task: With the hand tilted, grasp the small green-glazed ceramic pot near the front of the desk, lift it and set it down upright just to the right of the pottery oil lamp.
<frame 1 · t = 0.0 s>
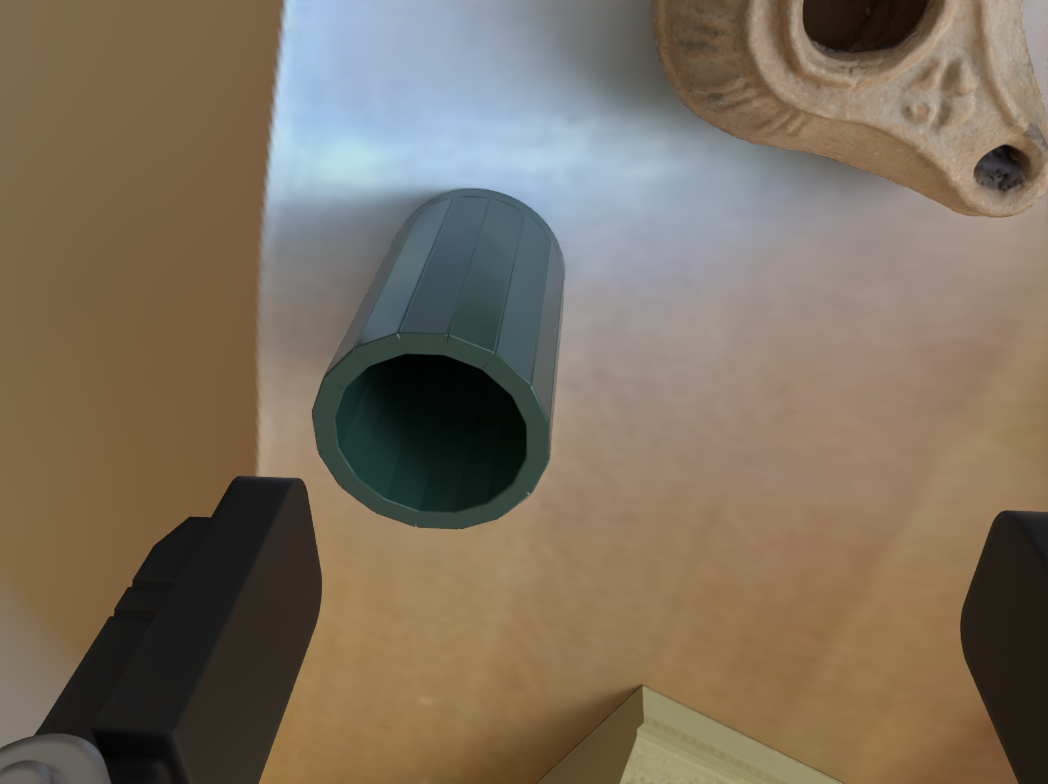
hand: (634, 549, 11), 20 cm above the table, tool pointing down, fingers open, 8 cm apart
pottery oil lamp: (844, 27, 26), on the table
pot: (478, 272, 31), on the table
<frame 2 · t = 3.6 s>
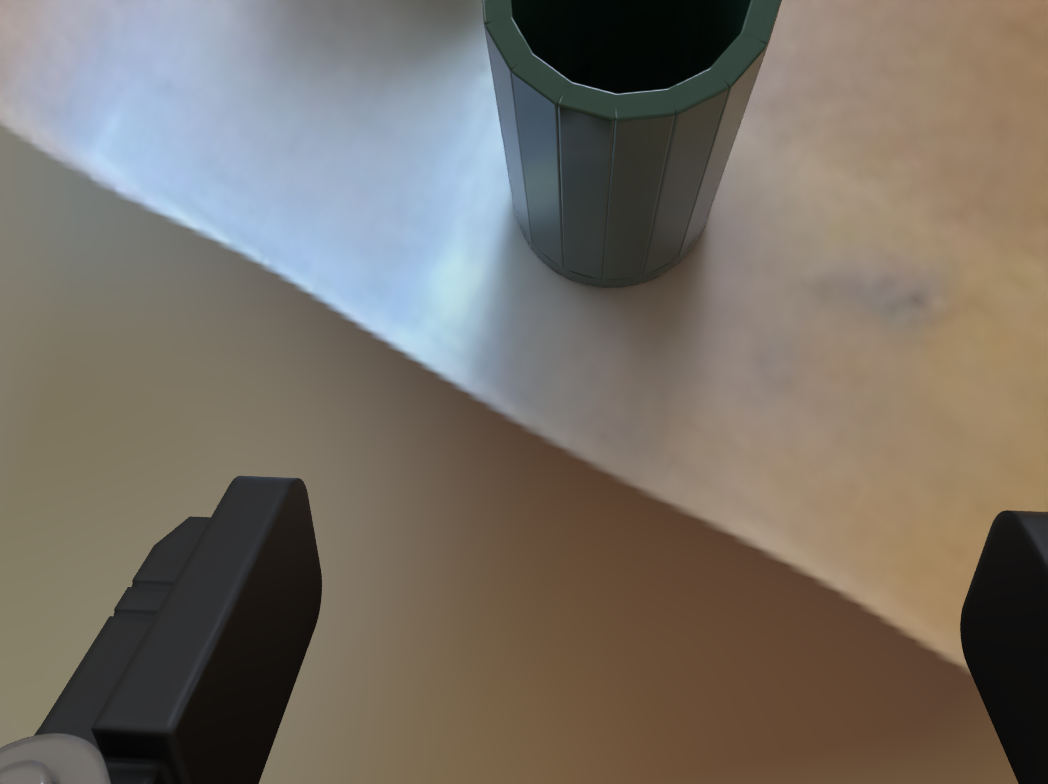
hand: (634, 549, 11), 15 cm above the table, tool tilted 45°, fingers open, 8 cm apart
pot: (610, 196, 28), on the table
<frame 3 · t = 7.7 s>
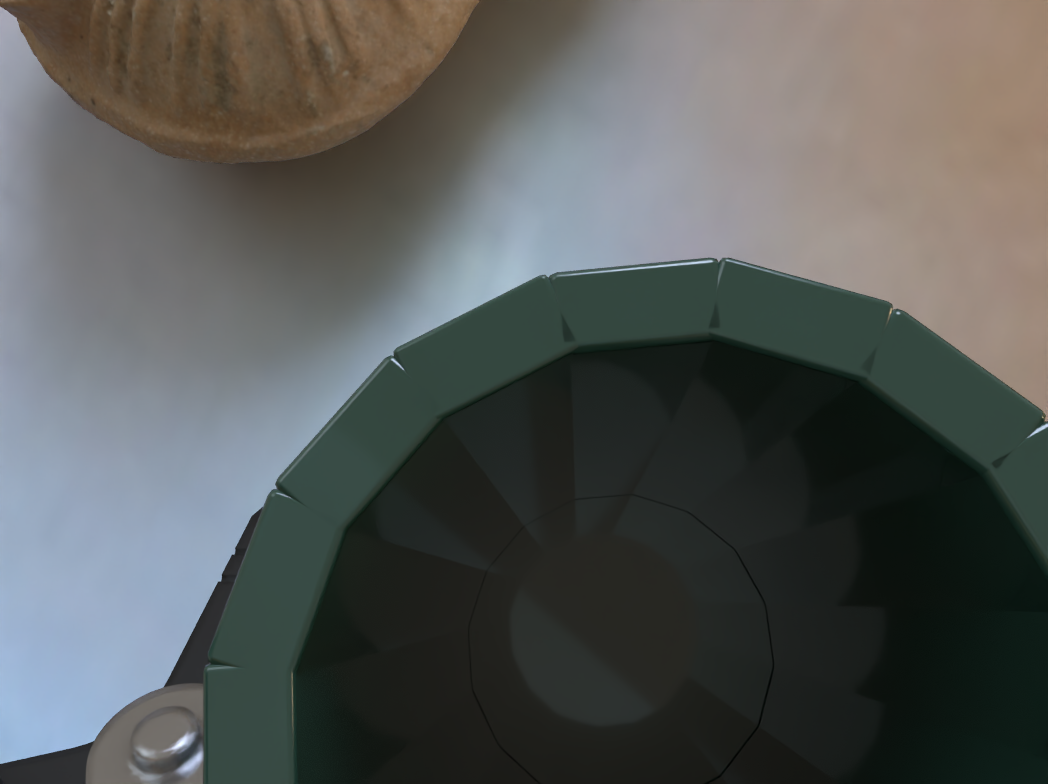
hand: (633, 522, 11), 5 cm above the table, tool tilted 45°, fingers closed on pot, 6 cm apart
pot: (616, 643, 15), on the table, touching gripper
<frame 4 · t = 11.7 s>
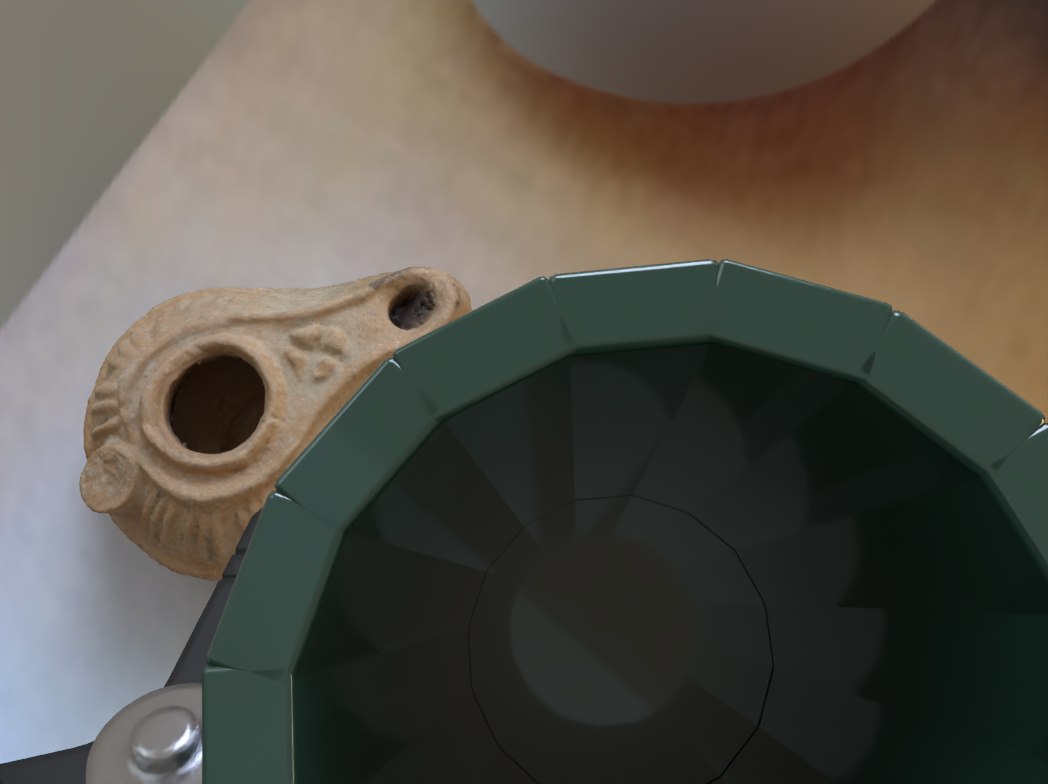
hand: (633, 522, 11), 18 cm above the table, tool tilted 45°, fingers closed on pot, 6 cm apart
pottery oil lamp: (316, 422, 30), on the table
pot: (616, 644, 15), point 14 cm above the table, touching gripper
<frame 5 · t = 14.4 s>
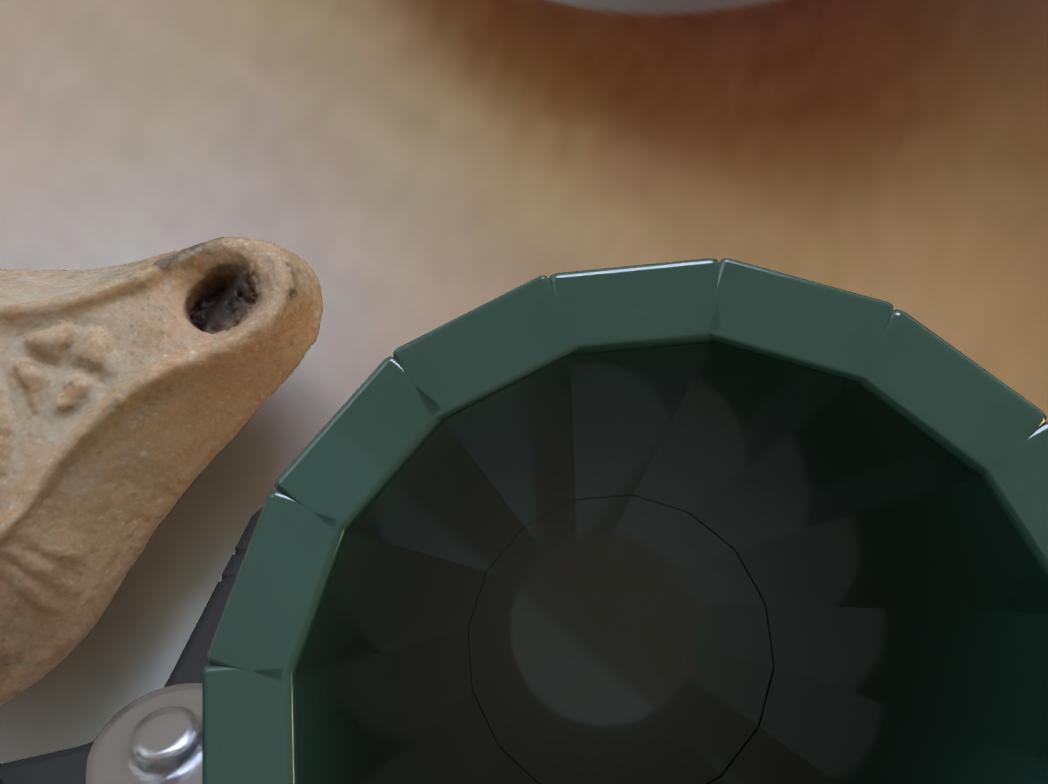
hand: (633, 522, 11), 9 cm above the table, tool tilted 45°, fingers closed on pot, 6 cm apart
pottery oil lamp: (113, 465, 21), on the table
pot: (616, 644, 15), point 4 cm above the table, touching gripper
when the fingers open (5 cm above the table, at t = 16.2 s): pot stays where it is, on the table.
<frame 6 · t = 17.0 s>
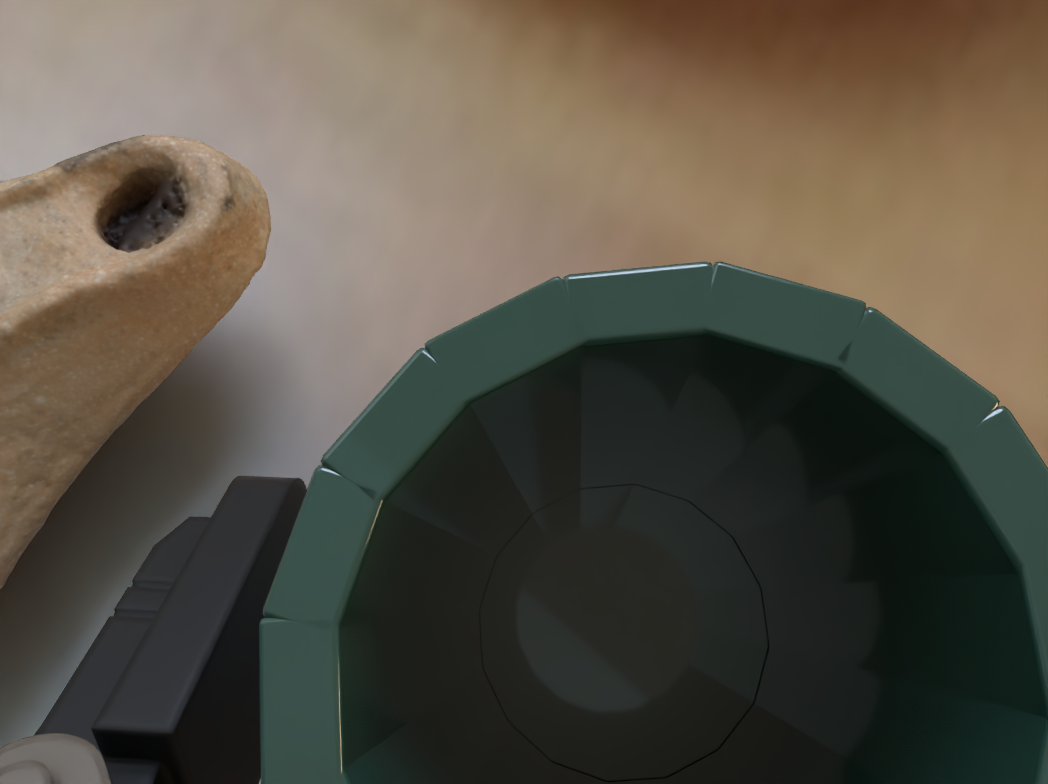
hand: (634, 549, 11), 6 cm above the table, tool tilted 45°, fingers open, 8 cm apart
pottery oil lamp: (28, 426, 18), on the table
pot: (619, 626, 16), on the table
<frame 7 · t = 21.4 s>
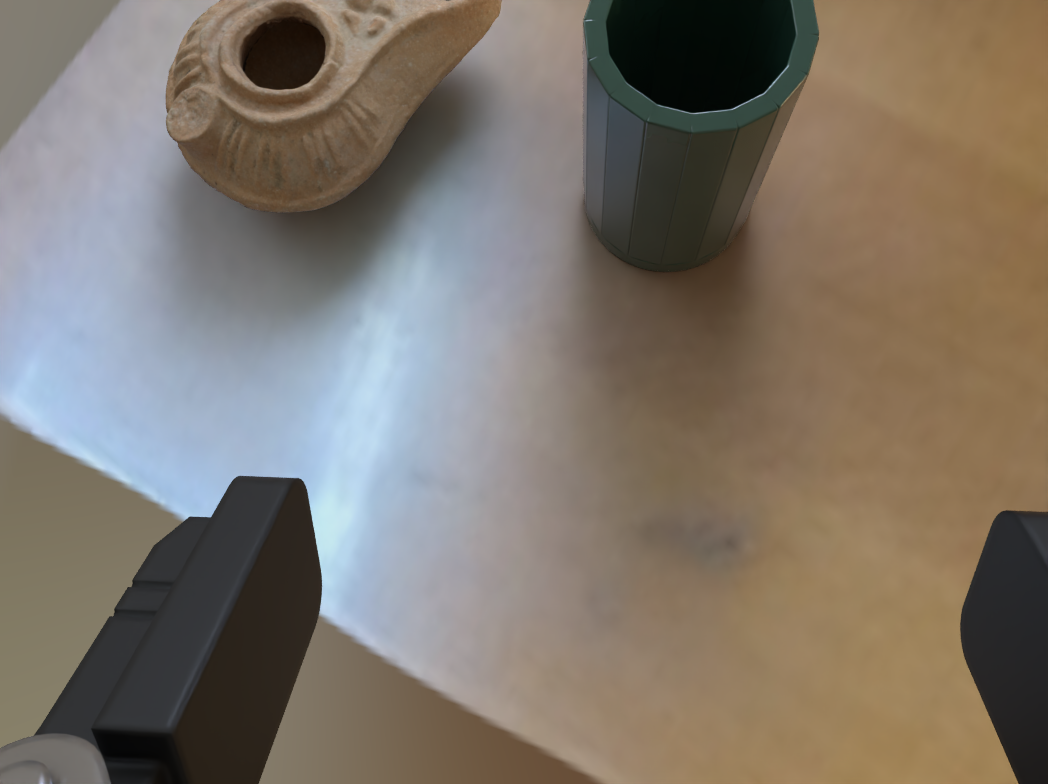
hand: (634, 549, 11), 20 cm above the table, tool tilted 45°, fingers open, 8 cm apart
pottery oil lamp: (363, 116, 35), on the table
pot: (665, 195, 33), on the table
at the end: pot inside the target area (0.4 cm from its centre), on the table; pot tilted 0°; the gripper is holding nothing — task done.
